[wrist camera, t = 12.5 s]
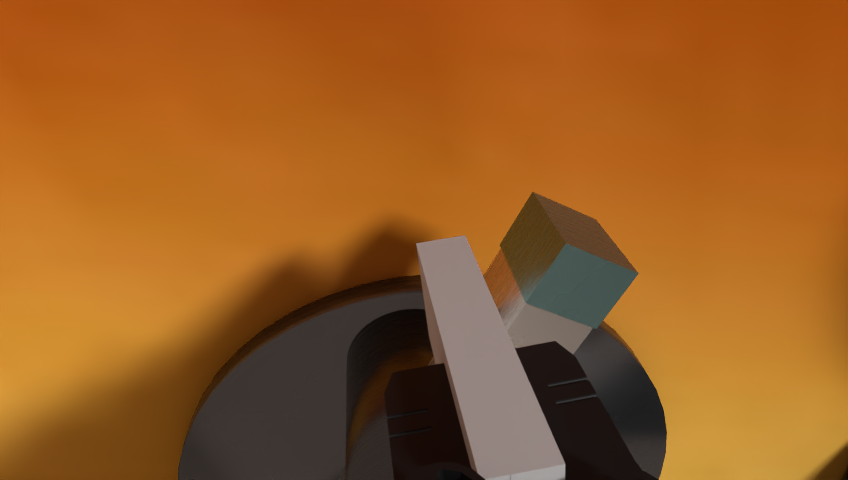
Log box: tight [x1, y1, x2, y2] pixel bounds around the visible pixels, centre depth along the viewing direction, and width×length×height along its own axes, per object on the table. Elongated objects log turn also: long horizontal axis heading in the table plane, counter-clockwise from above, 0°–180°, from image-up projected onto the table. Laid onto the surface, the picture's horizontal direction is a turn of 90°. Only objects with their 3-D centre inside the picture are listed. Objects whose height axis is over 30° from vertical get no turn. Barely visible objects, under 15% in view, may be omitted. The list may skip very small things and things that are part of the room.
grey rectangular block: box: [345, 192, 638, 480], centre depth 16 cm, size 10×4×6 cm, turn 154°
